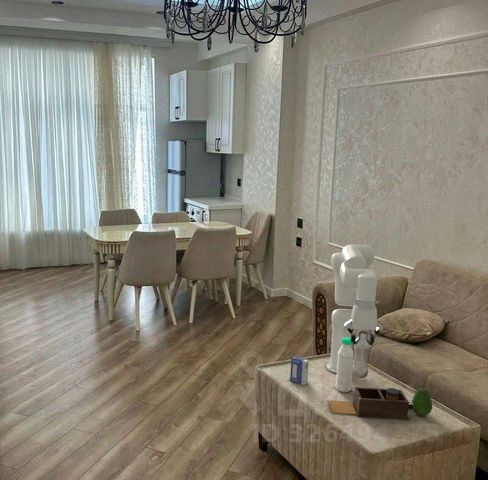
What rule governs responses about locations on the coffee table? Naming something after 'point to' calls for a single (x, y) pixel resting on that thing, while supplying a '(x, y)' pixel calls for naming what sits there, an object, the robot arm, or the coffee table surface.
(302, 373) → the walkman
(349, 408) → the cork mat
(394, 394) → the spice jar
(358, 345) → the metal flask
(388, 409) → the brown divided box
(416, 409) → the fruit
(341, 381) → the water bottle
